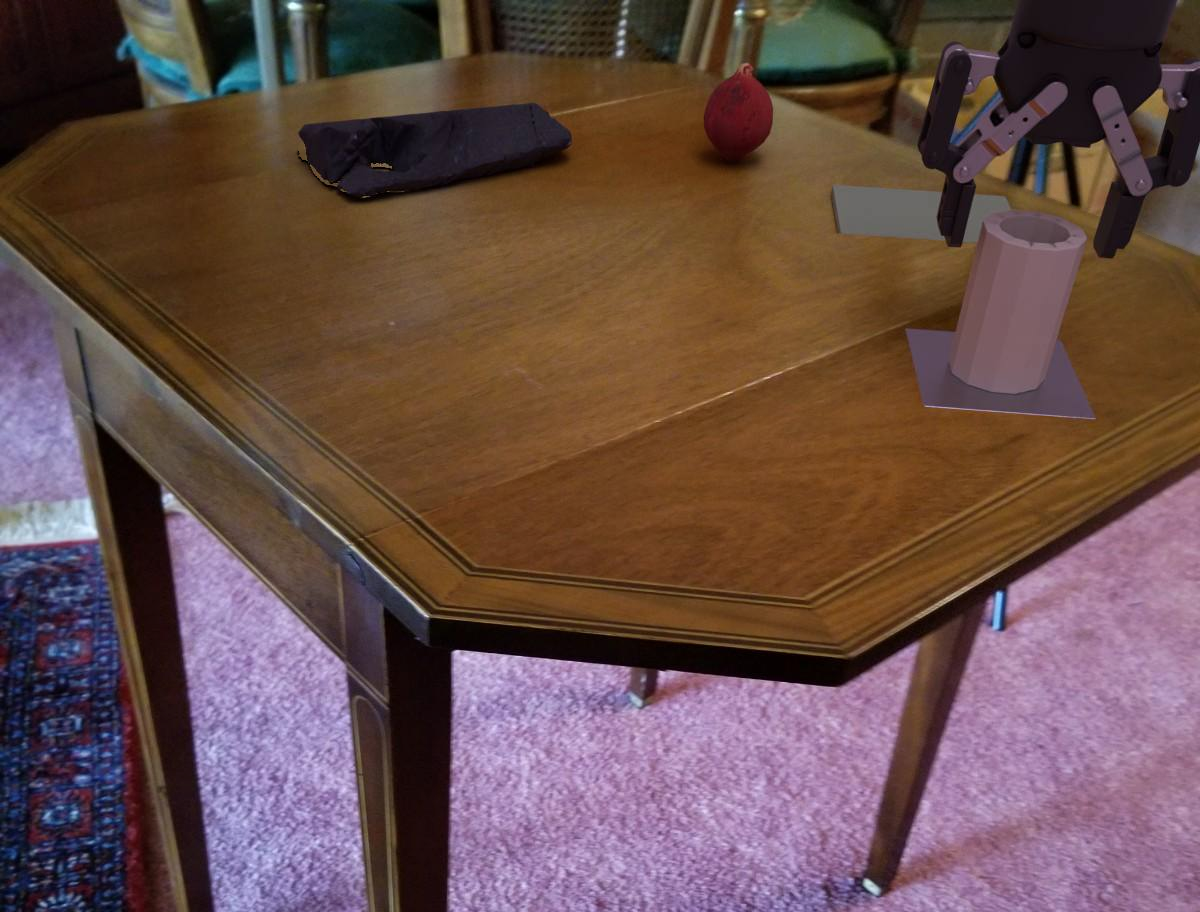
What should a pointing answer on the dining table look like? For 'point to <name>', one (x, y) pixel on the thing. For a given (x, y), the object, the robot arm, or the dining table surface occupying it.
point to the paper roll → (1015, 300)
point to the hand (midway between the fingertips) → (1026, 247)
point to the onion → (738, 115)
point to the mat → (903, 212)
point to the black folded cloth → (431, 146)
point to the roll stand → (948, 391)
